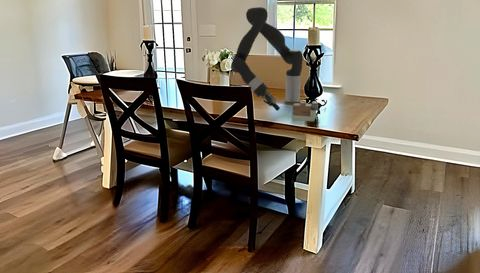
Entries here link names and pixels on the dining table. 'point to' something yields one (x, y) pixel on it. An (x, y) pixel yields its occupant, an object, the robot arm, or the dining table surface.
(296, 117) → the mount
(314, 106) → the knob
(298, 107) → the slider block
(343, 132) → the dining table surface
